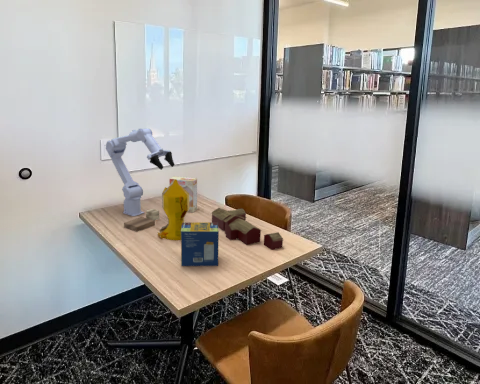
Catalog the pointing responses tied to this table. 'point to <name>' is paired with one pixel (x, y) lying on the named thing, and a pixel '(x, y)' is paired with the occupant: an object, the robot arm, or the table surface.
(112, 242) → the table surface
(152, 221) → the walnut slab
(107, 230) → the table surface
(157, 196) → the table surface
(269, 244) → the toy houses
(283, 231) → the table surface
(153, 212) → the maple cube
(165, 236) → the yellow faceted tall shape
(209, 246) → the protein box
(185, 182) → the coffeecake box
